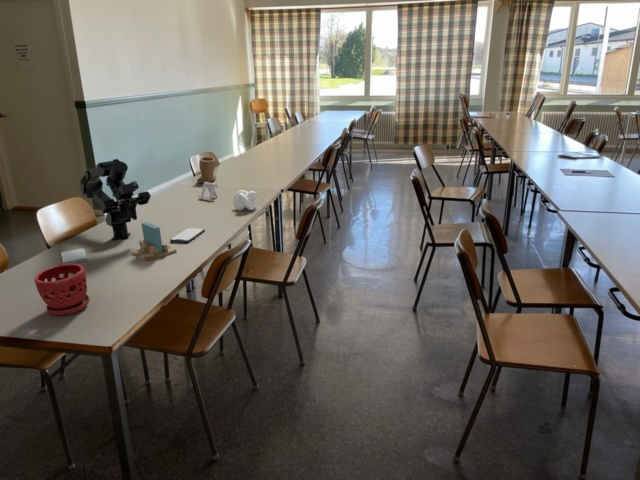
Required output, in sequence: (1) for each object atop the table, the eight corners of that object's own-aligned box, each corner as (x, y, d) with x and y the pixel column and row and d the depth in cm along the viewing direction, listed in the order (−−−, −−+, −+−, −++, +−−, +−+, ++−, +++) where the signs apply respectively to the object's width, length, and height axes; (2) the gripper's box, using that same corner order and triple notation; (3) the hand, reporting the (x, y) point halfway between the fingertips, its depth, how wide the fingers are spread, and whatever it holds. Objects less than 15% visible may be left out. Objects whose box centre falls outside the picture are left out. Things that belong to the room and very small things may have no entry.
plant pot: (66, 296, 152) (58, 261, 148) (101, 301, 148) (94, 265, 144) (32, 316, 140) (22, 278, 136) (69, 321, 137) (60, 283, 133)
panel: (145, 247, 188) (141, 223, 184) (150, 246, 189) (146, 221, 186) (158, 253, 181) (154, 228, 178) (163, 252, 183) (159, 227, 179)
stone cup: (213, 184, 291) (210, 159, 286) (194, 184, 293) (191, 159, 287) (221, 178, 305) (219, 154, 300) (203, 178, 307) (200, 154, 301)
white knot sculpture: (260, 211, 234) (258, 193, 231) (235, 213, 232) (233, 195, 229) (257, 205, 245) (255, 188, 241) (233, 207, 242) (231, 190, 239)
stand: (132, 253, 186) (130, 243, 184) (160, 244, 194) (159, 235, 192) (147, 261, 178) (146, 251, 176) (176, 251, 186) (175, 242, 184)
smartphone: (187, 231, 211) (169, 243, 196) (186, 227, 211) (168, 239, 196) (206, 232, 209) (189, 244, 194) (205, 228, 209) (188, 240, 194)
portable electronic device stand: (198, 199, 258) (196, 184, 256) (209, 196, 264) (207, 181, 262) (209, 201, 254) (207, 186, 251) (220, 198, 260) (219, 183, 257)
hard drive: (87, 257, 180) (83, 247, 190) (62, 262, 176) (60, 251, 186) (88, 262, 181) (84, 251, 191) (63, 266, 177) (61, 255, 187)
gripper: (98, 180, 181) (116, 213, 177) (144, 171, 193) (162, 202, 190) (93, 197, 189) (111, 229, 185) (138, 187, 201) (155, 218, 198)
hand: (135, 219), depth 189 cm, fingers closed
